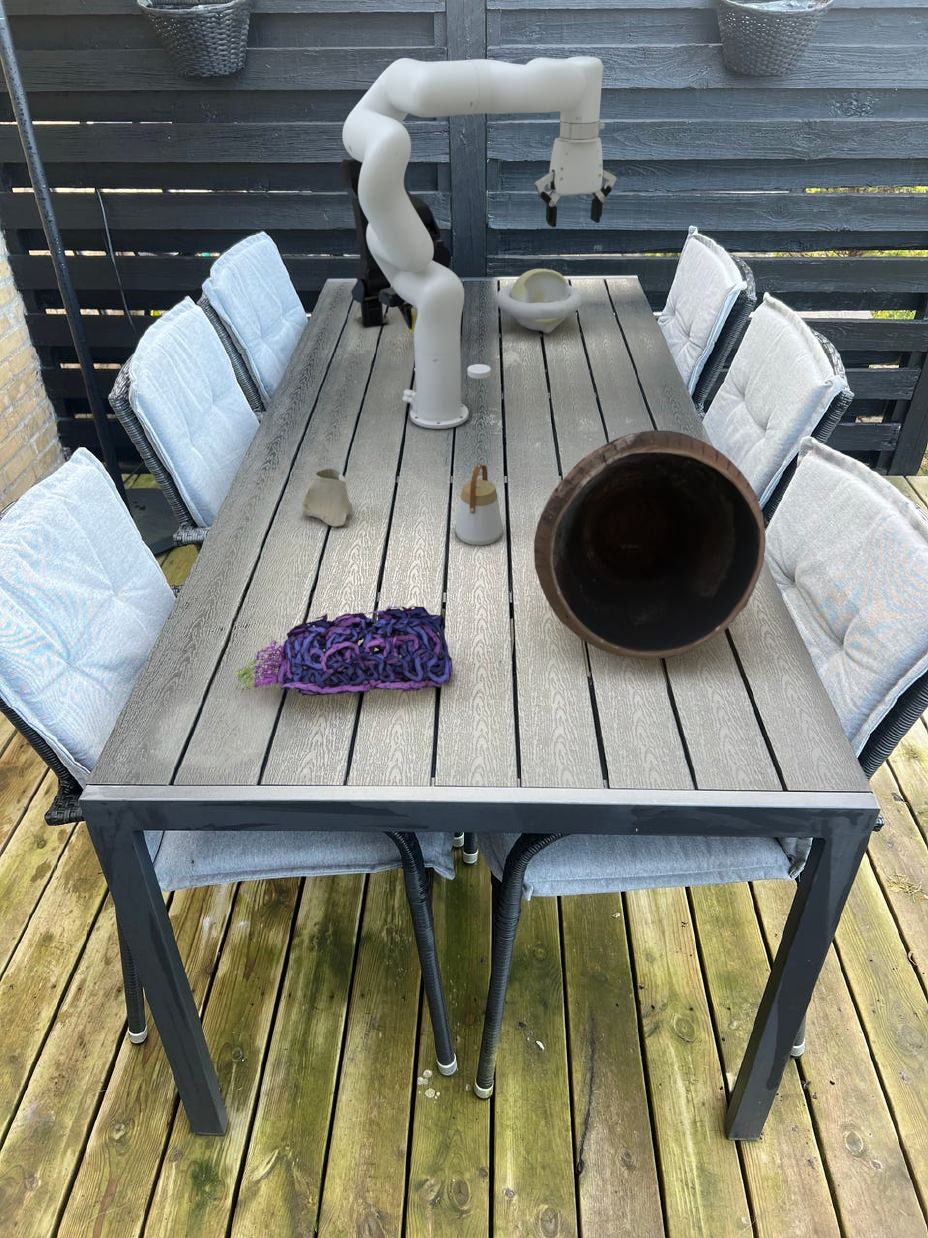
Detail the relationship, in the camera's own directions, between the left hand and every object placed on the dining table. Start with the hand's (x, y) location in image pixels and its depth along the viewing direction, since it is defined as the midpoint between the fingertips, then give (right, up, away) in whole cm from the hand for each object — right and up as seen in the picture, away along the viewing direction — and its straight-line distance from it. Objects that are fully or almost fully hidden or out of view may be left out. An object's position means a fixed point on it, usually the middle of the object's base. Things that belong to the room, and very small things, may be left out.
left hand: (418, 326), depth 229 cm
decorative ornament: (-5, -82, -98) cm, 128 cm away
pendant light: (+14, -57, -67) cm, 89 cm away
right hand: (+34, +9, -38) cm, 51 cm away
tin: (0, -1, +1) cm, 1 cm away
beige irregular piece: (-13, -54, -62) cm, 83 cm away
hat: (+30, +3, +12) cm, 33 cm away
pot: (+38, -71, -84) cm, 116 cm away
